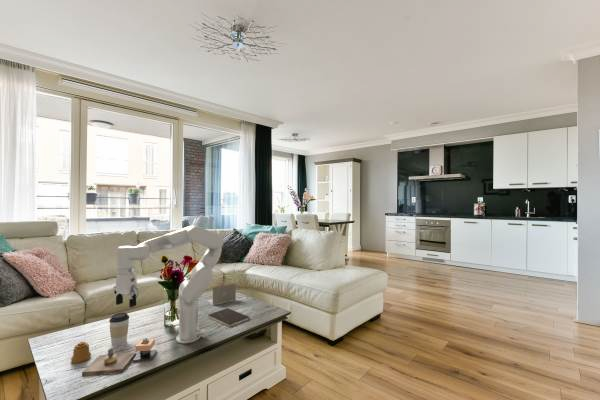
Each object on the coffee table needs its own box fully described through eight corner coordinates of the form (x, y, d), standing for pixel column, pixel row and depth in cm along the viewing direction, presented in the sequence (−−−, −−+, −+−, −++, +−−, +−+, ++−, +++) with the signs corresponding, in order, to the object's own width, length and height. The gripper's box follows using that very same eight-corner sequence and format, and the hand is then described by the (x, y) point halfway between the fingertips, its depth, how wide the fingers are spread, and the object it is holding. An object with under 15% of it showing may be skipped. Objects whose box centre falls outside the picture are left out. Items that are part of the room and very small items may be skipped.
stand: (156, 352, 142) (157, 334, 142) (151, 360, 134) (151, 342, 134) (139, 353, 141) (139, 335, 141) (132, 362, 133) (132, 343, 133)
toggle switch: (135, 355, 139) (135, 340, 139) (122, 372, 125) (122, 355, 125) (99, 358, 137) (99, 342, 137) (81, 375, 123) (82, 358, 123)
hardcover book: (228, 328, 171) (229, 324, 171) (207, 318, 186) (207, 314, 186) (249, 320, 183) (249, 316, 183) (228, 311, 198) (228, 307, 198)
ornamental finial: (67, 362, 133) (84, 354, 140) (77, 365, 131) (94, 357, 138) (67, 344, 133) (84, 337, 140) (77, 347, 131) (94, 340, 138)
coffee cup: (106, 348, 146) (106, 318, 146) (112, 339, 155) (112, 312, 155) (126, 345, 149) (126, 316, 149) (131, 337, 157) (131, 310, 157)
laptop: (228, 296, 228) (228, 280, 228) (235, 300, 218) (235, 283, 219) (206, 301, 217) (206, 284, 217) (212, 305, 207) (212, 287, 207)
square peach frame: (154, 343, 141) (154, 338, 141) (149, 350, 135) (149, 345, 135) (140, 344, 140) (140, 339, 141) (135, 351, 134) (135, 346, 134)
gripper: (144, 270, 143) (145, 304, 143) (121, 267, 150) (121, 300, 150) (130, 274, 136) (131, 310, 136) (106, 271, 143) (107, 305, 143)
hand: (126, 305), depth 143 cm, fingers open, 9 cm apart
